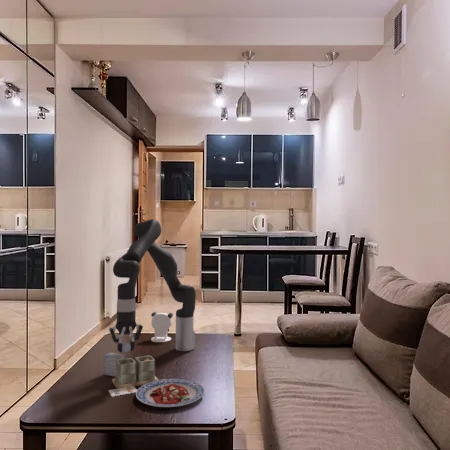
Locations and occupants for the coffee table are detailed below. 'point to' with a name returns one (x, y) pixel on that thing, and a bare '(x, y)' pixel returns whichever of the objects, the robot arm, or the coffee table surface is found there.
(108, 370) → the medicine box
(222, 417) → the coffee table surface
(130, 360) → the tube stand
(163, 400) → the ceramic plate
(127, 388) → the card
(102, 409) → the coffee table surface
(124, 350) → the grey ball
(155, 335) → the white bear shaped stand
